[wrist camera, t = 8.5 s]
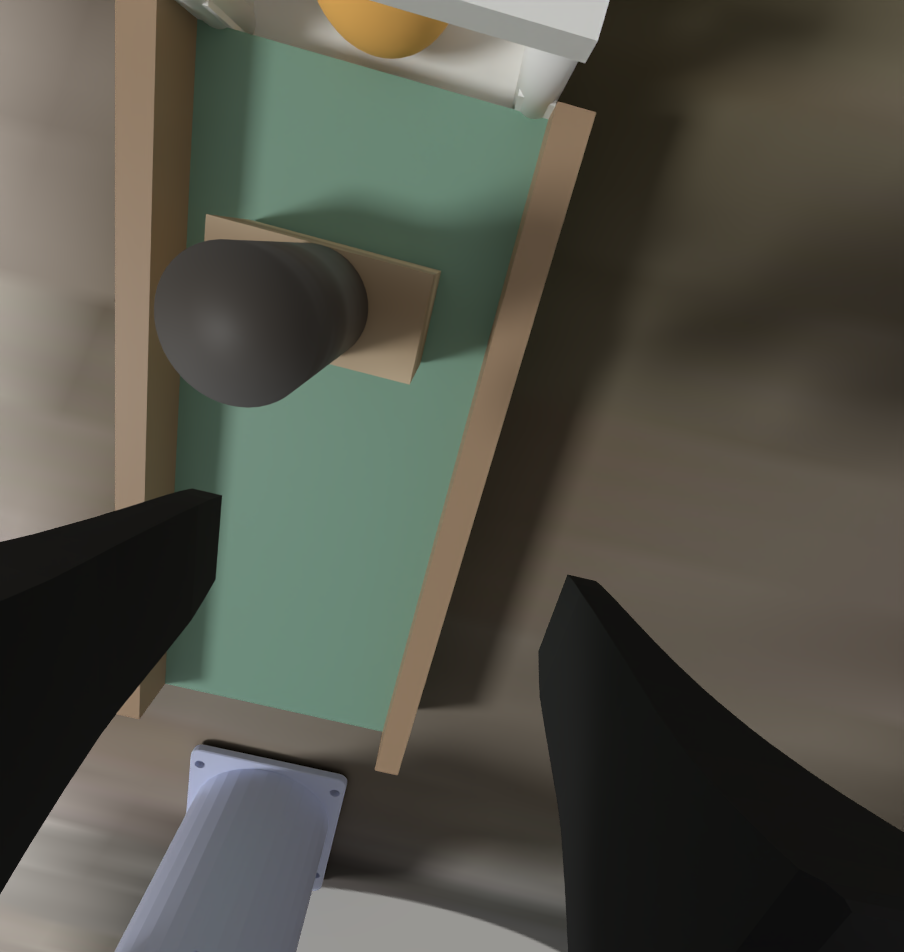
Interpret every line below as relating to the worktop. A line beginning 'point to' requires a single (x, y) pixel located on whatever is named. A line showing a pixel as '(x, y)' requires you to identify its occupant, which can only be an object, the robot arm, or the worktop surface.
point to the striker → (287, 311)
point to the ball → (381, 27)
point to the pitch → (333, 388)
